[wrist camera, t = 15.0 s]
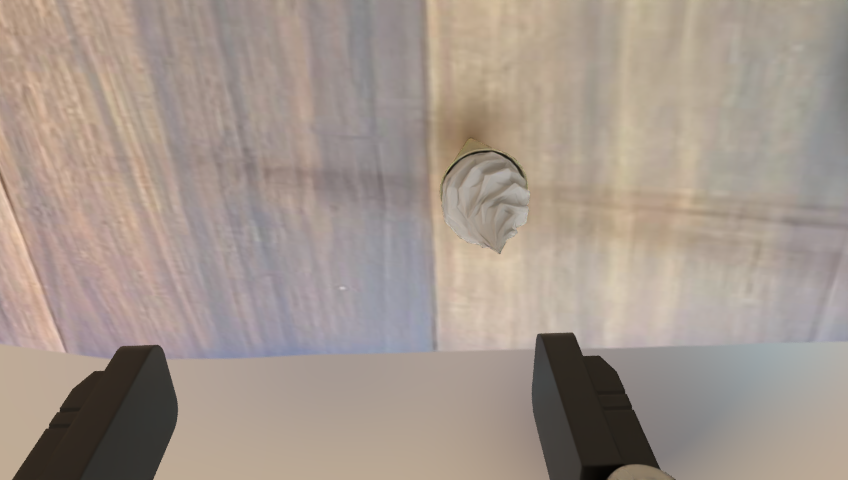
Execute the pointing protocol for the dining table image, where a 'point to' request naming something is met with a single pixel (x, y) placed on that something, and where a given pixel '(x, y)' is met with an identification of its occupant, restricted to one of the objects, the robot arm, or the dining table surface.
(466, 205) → the ice cream cone
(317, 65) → the dining table surface
